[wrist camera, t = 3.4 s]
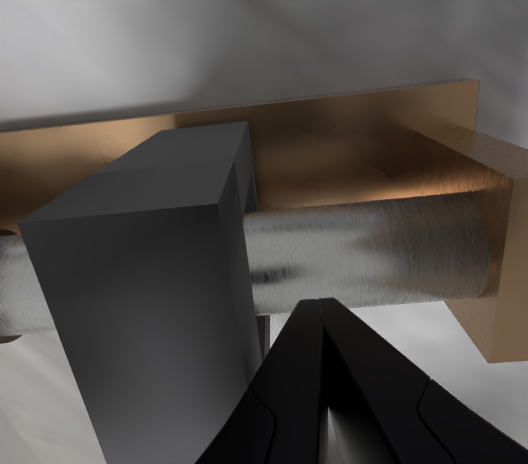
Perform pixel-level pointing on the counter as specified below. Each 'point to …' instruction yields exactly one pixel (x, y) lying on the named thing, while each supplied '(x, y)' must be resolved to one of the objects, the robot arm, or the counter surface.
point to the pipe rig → (325, 205)
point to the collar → (156, 290)
